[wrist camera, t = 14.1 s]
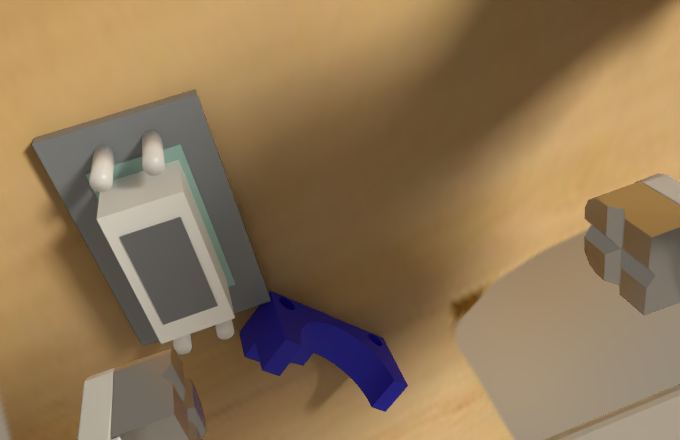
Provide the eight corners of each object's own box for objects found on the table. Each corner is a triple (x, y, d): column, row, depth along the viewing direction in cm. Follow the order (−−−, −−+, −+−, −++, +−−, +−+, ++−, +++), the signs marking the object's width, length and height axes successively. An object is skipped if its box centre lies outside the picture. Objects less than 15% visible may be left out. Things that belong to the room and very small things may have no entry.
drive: (178, 159, 38) (183, 192, 34) (226, 279, 43) (235, 318, 40) (100, 184, 37) (96, 220, 34) (159, 302, 43) (161, 345, 39)
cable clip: (239, 331, 48) (250, 384, 43) (269, 289, 47) (285, 339, 42) (352, 373, 54) (374, 424, 49) (382, 336, 53) (407, 385, 48)
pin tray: (195, 89, 37) (202, 116, 33) (268, 293, 47) (281, 334, 42) (34, 138, 36) (20, 173, 32) (142, 337, 45) (142, 384, 41)
